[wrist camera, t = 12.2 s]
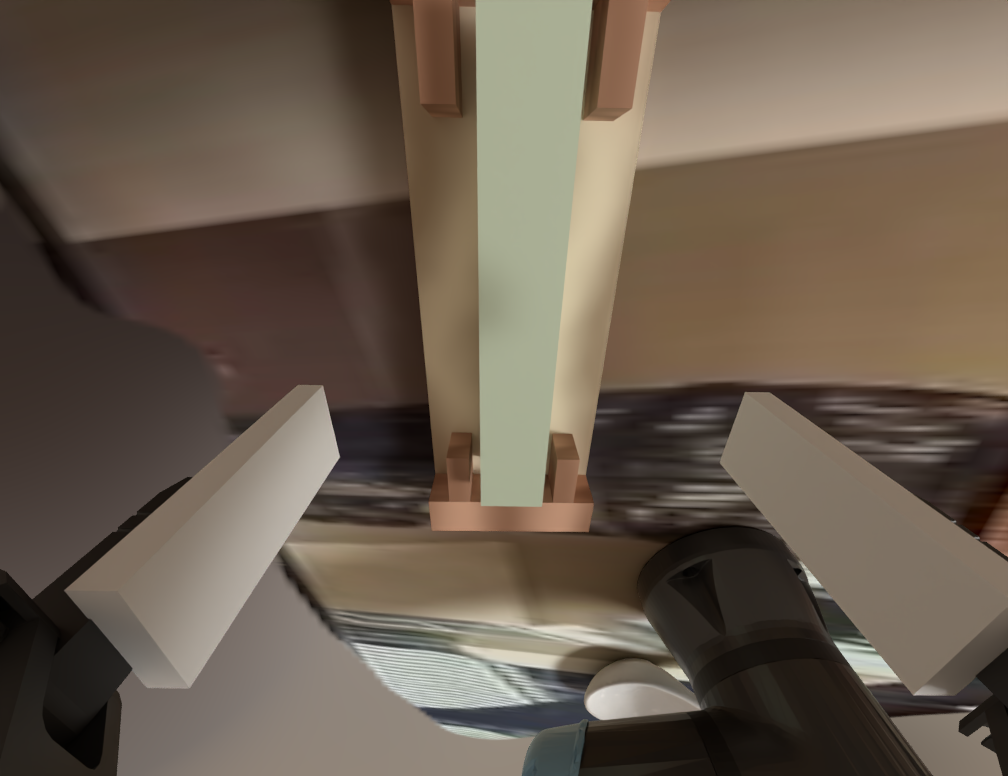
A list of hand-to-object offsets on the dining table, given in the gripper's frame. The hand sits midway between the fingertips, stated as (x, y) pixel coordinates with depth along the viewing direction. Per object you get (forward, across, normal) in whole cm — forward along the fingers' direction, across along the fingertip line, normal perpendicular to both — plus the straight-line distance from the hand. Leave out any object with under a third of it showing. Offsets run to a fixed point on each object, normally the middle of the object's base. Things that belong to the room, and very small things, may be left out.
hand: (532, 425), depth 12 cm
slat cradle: (+14, 0, -1) cm, 14 cm away
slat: (+12, 0, -1) cm, 12 cm away
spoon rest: (+15, -21, +45) cm, 52 cm away
